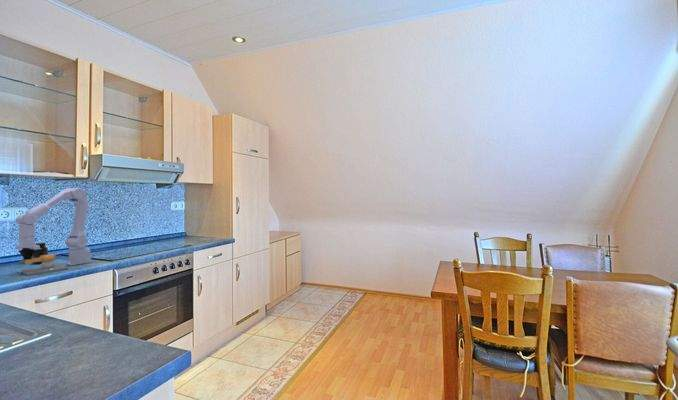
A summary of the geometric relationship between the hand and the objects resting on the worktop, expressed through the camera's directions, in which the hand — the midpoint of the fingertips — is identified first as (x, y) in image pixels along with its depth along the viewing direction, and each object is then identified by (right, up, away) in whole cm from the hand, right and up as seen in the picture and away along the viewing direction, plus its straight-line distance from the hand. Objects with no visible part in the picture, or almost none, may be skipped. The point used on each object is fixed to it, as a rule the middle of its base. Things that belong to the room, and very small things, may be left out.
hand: (27, 262), depth 158 cm
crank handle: (+3, 0, +3) cm, 4 cm away
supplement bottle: (-16, -5, +23) cm, 28 cm away
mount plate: (+4, -5, +5) cm, 8 cm away
